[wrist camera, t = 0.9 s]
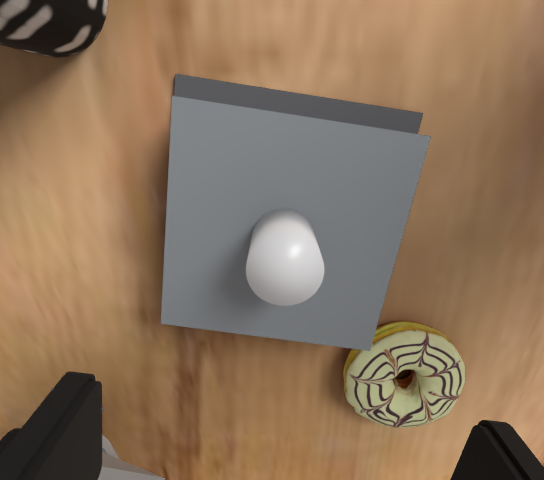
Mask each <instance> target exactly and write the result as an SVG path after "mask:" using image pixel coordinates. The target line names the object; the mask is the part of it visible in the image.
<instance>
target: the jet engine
mask: <svg viewBox="0 0 544 480" xmlns="http://www.w3.org/2000/svg"><path fill="white" fill-rule="evenodd" d="M52 390H53V388H52ZM102 411H103V407H102ZM165 479H166V478H163V477H161V476H159V475H156V474H154V473H151V472H149V471H147V470H144V469H142V468H139V467H137V466H135V465H132V464H130V463H128V462H125V461H123V460H120V459H119V457H118V455H117V453H116V452H115V450H114V448H113V446H112V445H111V443H110V441H109V440H108V439H107V438H106V437H105V436H103V435H102V468H101V472H100V475H99V478H98V480H165Z"/></svg>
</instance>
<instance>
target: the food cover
mask: <svg viewBox="0 0 544 480" xmlns="http://www.w3.org/2000/svg"><path fill="white" fill-rule="evenodd" d="M430 138H431V136H426V135H420V134H413V133H407V132H401V131H394V130H388V129H381V128H375V127H369V126H362V125H356V124H349V123H343V122H337V121H330V120H324V119H318V118H311V117H305V116H298V115H292V114H286V113H279V112H273V111H266V110H260V109H254V108H247V107H241V106H234V105H228V104H222V103H215V102H209V101H203V100H196V99H190V98H183V97H177V96H172V109H171V129H170V149H169V169H168V189H167V209H166V229H165V248H164V268H163V288H162V308H161V324H167V325H175V326H182V327H190V328H198V329H205V330H213V331H221V332H228V333H236V334H244V335H251V336H259V337H267V338H274V339H282V340H290V341H297V342H305V343H312V344H320V345H328V346H335V347H343V348H351V349H358V350H366V351H370V349H371V345H372V342H373V338H374V335H375V331H376V328H377V324H378V321H379V317H380V314H381V310H382V307H383V303H384V300H385V296H386V293H387V289H388V286H389V282H390V279H391V275H392V272H393V268H394V265H395V261H396V258H397V254H398V251H399V247H400V244H401V240H402V237H403V233H404V230H405V226H406V223H407V219H408V216H409V212H410V208H411V205H412V201H413V198H414V194H415V191H416V187H417V184H418V180H419V177H420V173H421V170H422V166H423V163H424V159H425V156H426V152H427V149H428V145H429V142H430Z"/></svg>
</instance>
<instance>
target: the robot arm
mask: <svg viewBox="0 0 544 480" xmlns="http://www.w3.org/2000/svg"><path fill="white" fill-rule="evenodd" d="M101 468H102V385H101V382H99V381H95V376H94V375H93V374H86V373H78V372H67V373H66V374H65V375H64V376H63V377H62V378H61V380H60V381H59V382H58V383H57V385H56V386H55V387H54V388H53V390H52V391H51V392H50V393H49V395H48V396H47V397H46V398H45V400H44V401H43V402H42V403H41V405H40V406H39V407H38V408H37V410H36V411H35V412H34V413H33V415H32V416H31V417H30V418H29V420H28V421H27V422H26V423H25V424H24V426H23V427H22V428H21V429H19V428H18V429H13V430H11V431H10V432H8V433H7V434H6V435H5V436H4V437H3V438H2V439H1V440H0V480H98V478H99V475H100V472H101ZM451 480H544V467H543V466H542V465H541V463H540V462H539V461H538V459H537V458H536V457H535V456H534V454H533V453H532V452H531V450H530V449H529V448H528V447H527V445H526V444H525V443H524V441H523V440H522V439H521V438H520V436H519V435H518V434H517V432H516V431H515V430H514V429H513V427H512V426H511V425H510V424H508V423H506V422H497V421H489V420H482V421H480V422H479V423H478V425H475V426H474V427H473V428H472V430H471V433H470V435H469V437H468V440H467V442H466V444H465V447H464V449H463V451H462V454H461V456H460V459H459V461H458V463H457V466H456V468H455V470H454V473H453V475H452V477H451Z"/></svg>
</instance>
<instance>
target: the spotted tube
mask: <svg viewBox="0 0 544 480" xmlns="http://www.w3.org/2000/svg"><path fill="white" fill-rule="evenodd" d="M107 6H108V0H0V45H4V46H8V47H12V48H16V49H20V50H24V51H28V52H32V53H36V54H40V55H44V56H51V57H65V56H70V55H73V54H76V53H79V52H80V51H82V50H83V49H85V48H87V47H88V46H89V45H90V44H91V43H92V42H93V41H94V40H95V39H96V37H97V36H98V34H99V32H100V31H101V29H102V26H103V24H104V21H105V18H106V13H107Z"/></svg>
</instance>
